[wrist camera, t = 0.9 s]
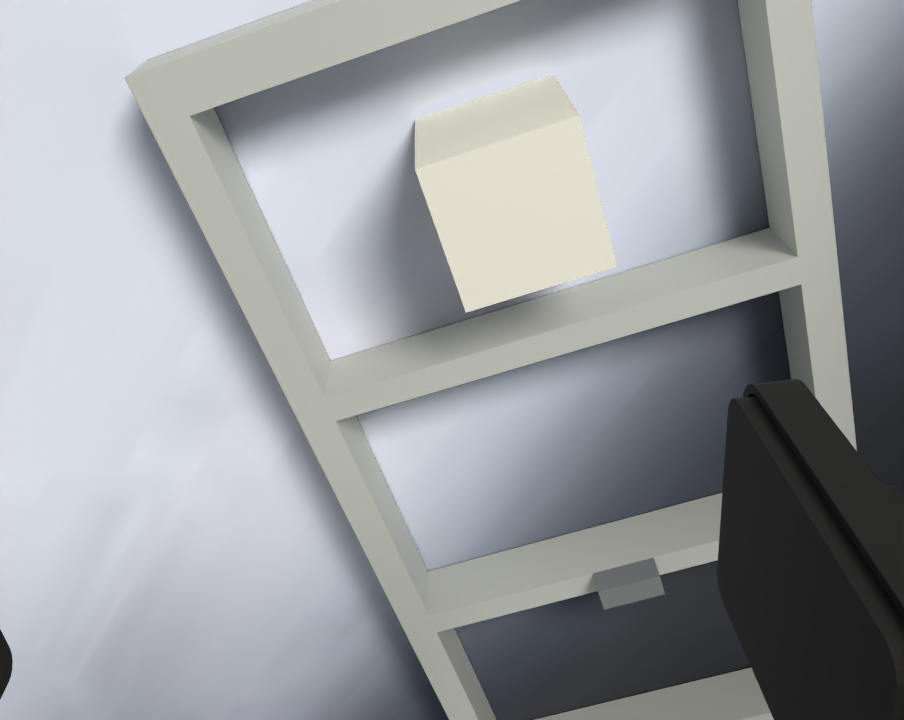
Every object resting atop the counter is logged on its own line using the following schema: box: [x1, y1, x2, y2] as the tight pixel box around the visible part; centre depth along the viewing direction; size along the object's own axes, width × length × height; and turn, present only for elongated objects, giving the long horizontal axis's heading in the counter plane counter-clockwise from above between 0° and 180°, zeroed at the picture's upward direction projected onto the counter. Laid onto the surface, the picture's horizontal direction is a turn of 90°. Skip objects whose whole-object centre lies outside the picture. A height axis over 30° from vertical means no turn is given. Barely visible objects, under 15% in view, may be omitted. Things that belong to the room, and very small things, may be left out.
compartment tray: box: [125, 0, 857, 720], centre depth 31 cm, size 19×35×4 cm, turn 18°
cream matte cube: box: [415, 74, 617, 313], centre depth 26 cm, size 4×4×5 cm
